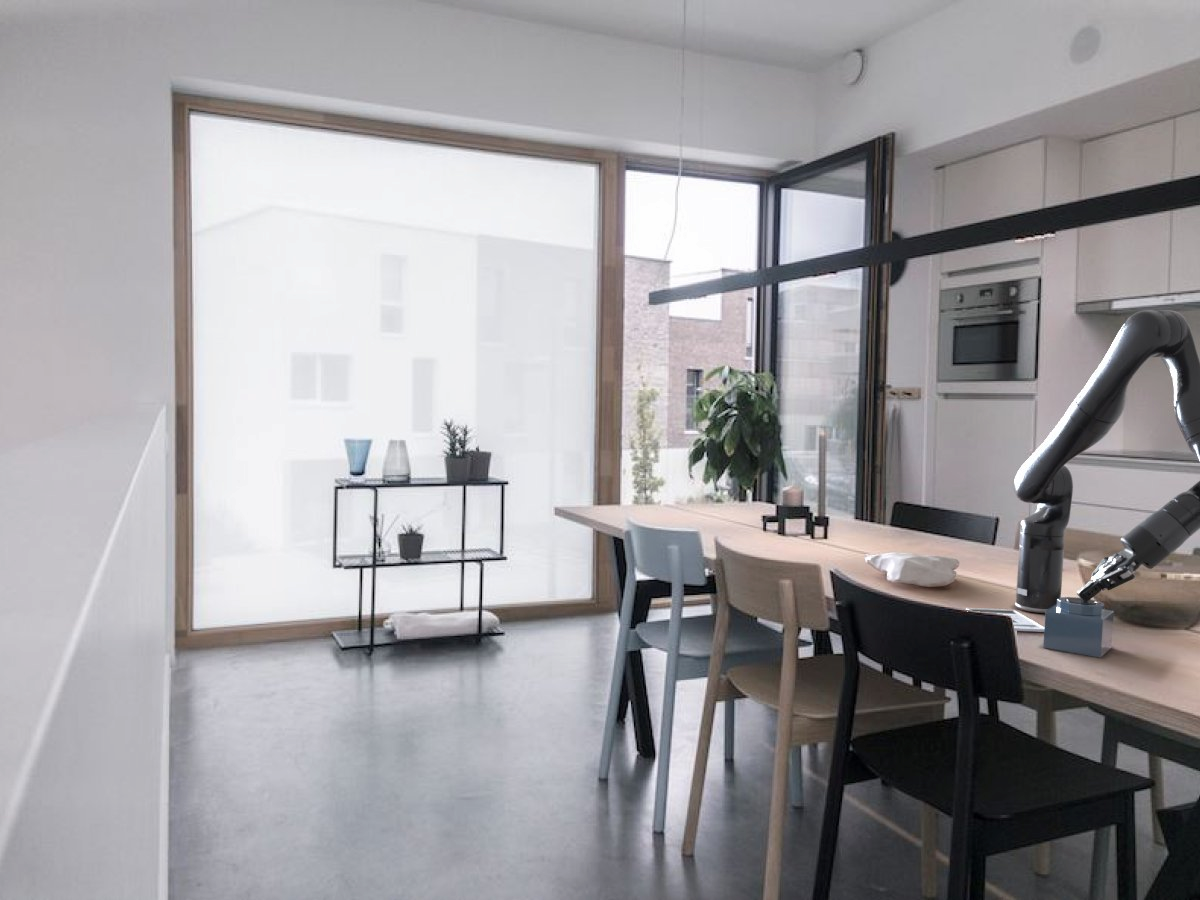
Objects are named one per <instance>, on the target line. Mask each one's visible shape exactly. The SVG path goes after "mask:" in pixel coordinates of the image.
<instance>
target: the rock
mask: <svg viewBox="0 0 1200 900" xmlns="http://www.w3.org/2000/svg"><path fill="white" fill-rule="evenodd" d="M864 560H865V563H866V564H867V565H869V566H870V567H872V568H873V569H875V570H877V571H878V572H880V573H881V574H883V575H886V580H887V581H889V582H892V583H896V584H907V585H911V584H912V585H915V586H917V587H928V588H932V587H944V586H947V585H950V584H952V583H953V582H954V581H956V580H955V579H956V577H957V571H956V569H958V568H959V566H960V561H959V559H957V558H954V557H953V556H945V555H929V554H928V555H927V554H917V553H913V552H897V551H894V552H892V551H891V552H886V553H881V554H880V553H879V554H869V553H866V554H865V556H864Z"/></svg>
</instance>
